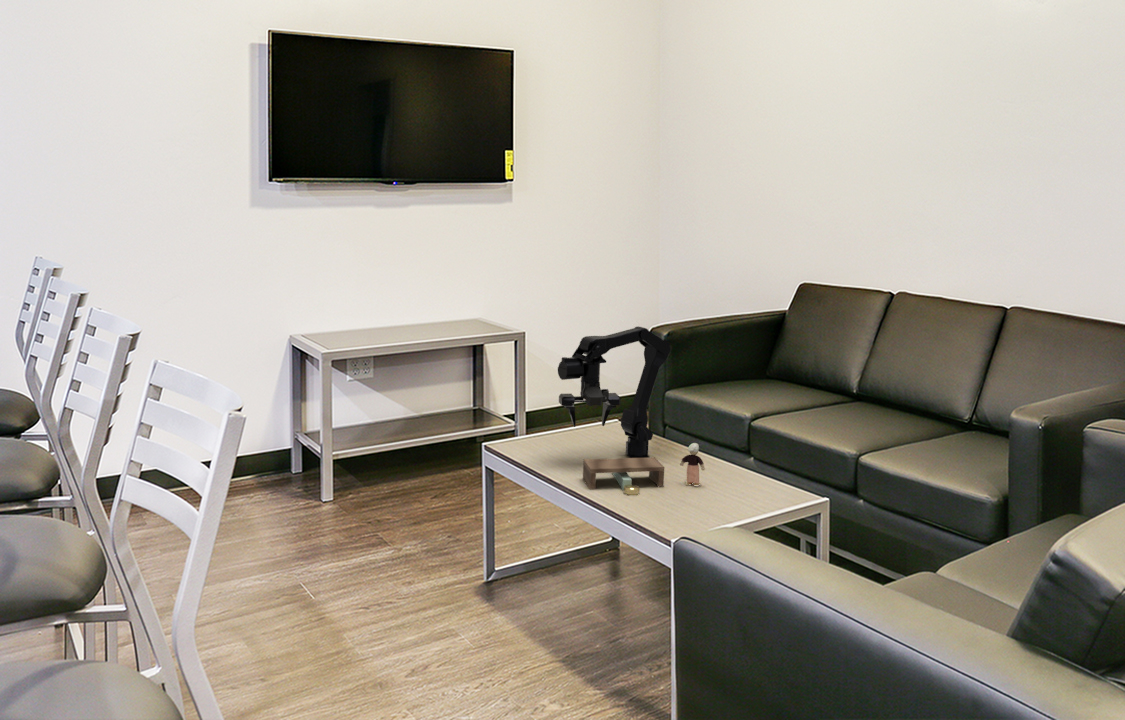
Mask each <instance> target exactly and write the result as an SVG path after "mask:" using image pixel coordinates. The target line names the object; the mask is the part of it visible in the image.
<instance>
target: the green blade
mask: <svg viewBox="0 0 1125 720" xmlns="http://www.w3.org/2000/svg"><path fill="white" fill-rule="evenodd" d="M609 459H617V457H616V458H615V457H614V458H613V457H612V458H609ZM612 475H613V477H614V478H615V480H616V482H617V483H618V485H619V487H620V486H621V487H620V489H621V490H622V492H624V486H625V485H632V478H631V477H630V475H629V474H628V472H616V473H612Z"/></svg>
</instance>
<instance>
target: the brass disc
mask: <svg viewBox="0 0 1125 720" xmlns="http://www.w3.org/2000/svg"><path fill="white" fill-rule="evenodd" d="M640 490H641V489H640V486H639V485H636V484H631V485H625V486H624V491H623V495H625V494H627V495H626V496H629V495H636V496H639V495H640ZM638 494H639V495H638Z"/></svg>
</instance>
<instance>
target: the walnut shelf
mask: <svg viewBox="0 0 1125 720" xmlns="http://www.w3.org/2000/svg"><path fill="white" fill-rule="evenodd" d="M616 458H617V457H616ZM582 462H583V463H582V465H583V466H582V480H583V481H584V483H585V482H586V483H585V484H586V485H587V487H588V488H589V490H596V479H597V478H596V476H597V474H607V473H608V474H610V473H612V474H613V473H616V472H627V473H640V472H647V473H648V477H649V478H650V480H651V481H652V482H653V481H654V482H655V483H656V484H657V485H658V486H663V487H664V482H665V481H664V479H665V466H664V465H663V464H662V463H661V462H660V461H659V460H658V459H657V458H656V457H653V456H652V457H651V456H650V458H629V457H624V458H617V459H610V458H592V459H591V458H587V459H585V458H584V459H583V461H582ZM654 482H653V483H654ZM655 483H654V484H655ZM656 484H655V485H656ZM657 485H656V486H657ZM658 486H657V487H658Z"/></svg>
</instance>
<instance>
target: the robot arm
mask: <svg viewBox="0 0 1125 720" xmlns="http://www.w3.org/2000/svg"><path fill="white" fill-rule="evenodd" d="M637 342H638V343H639V344H640V345H641V346H642V347H644V351H643V358H644V366H643V369H642V373H641V374H640V375H641V376H640V379H639V381H638V382H639V383H638V385H637V388H636V391H635V394H634V397H633V400H632V403H631V406H629V408H624V409H623V410H622V416H621V418H620V419H619V421H620V426H621V429H622V430H623V432H624V435H625V436H627V441H625V454H626V455H627V458H651V456H650V455H649V443H650V441H652V439H653V436H654V433H653V432H652V431H651V430H650V429H649V427H648V421H649V418H648V406H649V403H650V400H651V397H652V394H653V392H654V391H653V390H654V387H655V384H656V381H657V377H658V374H659V370H660V369H661V367H662V366H663V365H664V364H665V362H666V361H667V360H668V358H669V355H670V354H671V351H672V345H671V343H670V342H669V340H666V339H663V338H661V337H659V336H657V335H656V334H654V333H653V332H651V331H650V330H649V329H648V328H646V327H642V326H634V327H633V328H630V329H626V330H622V331H619V332H615V333H611V334H607V335H586V336H584V337H582V338H581V340H580V342H579V345H578V346H577V347H576V349H575V351H574V352H573V354H572V355H571V357H566V356H564V357H562V358H561V360H560V362H559V363H558V366H557V374H558V378H559V379H560V380H561V381H565V380H575V379H576V380H577V379H580V391H579V392H580V394H579V395H580V396H579V395H578V396H574V395H573V394H572V393H560V394H559V395H558V403H559V404H560V406H561V407H564V408H565V409H567V410H568V414H569V416H570V419H571V423H572V426H573V427H576V406H575V403H586V405H587V406H589V407H593V406H598V407H599V406H602V414H601V415H602V416H601V426H602V427H604V426H605V425H606V423H607V422H606V421H607V419H608V417H609V415H610V413H611V411H612V410H613V409H615V408H617V406H620V405H621V403H622V402H621V401H622V400H621V397H620V396H619V394H617V393H616V392H610V391H609V389H608V388H607V389H606V388H601V382H600V380H601V378H600V376H601V369H600V368H601V364H605V363H607V360H606V359H605V358H604V357H603V355H605V354H607V353H608V352H609V351H610V350H613V349H616V348H618V347H619V348H620V347H623V346H626V345H629V344H630V345H631V344H634V343H637Z"/></svg>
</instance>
